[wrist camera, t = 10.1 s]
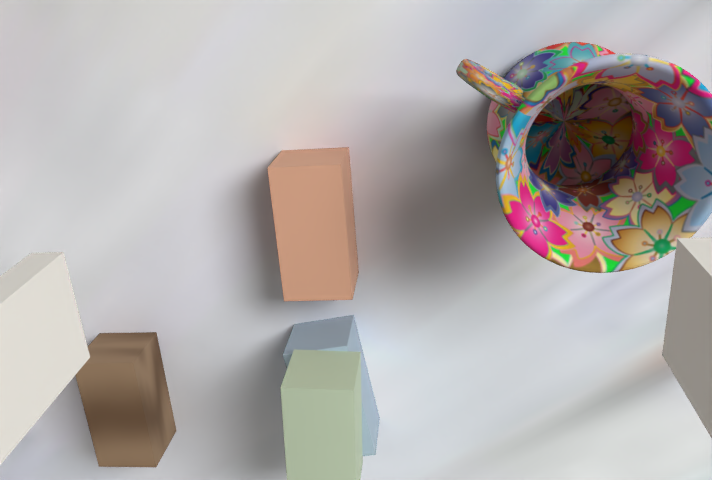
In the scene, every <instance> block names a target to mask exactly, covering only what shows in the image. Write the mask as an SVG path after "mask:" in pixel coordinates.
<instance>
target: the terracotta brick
mask: <svg viewBox="0 0 712 480" xmlns="http://www.w3.org/2000/svg"><path fill="white" fill-rule="evenodd" d="M268 176H269V184H270V192H271V200H272V208H273V216H274V224H275V232H276V240H277V249H278V257H279V265H280V273H281V281H282V289H283V297H284V301H315V300H352V299H353V295H354V290H355V286H356V281H357V277H358V273H359V271H358V258H357V245H356V233H355V220H354V207H353V194H352V182H351V169H350V156H349V147H344V148H324V149H304V150H283V151H281V152H280V153H279V154H278V156H277V157H276V158H275V159H274V160H273V162H272V163H271V164H270V165H269V167H268Z"/></svg>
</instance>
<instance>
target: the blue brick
mask: <svg viewBox="0 0 712 480" xmlns="http://www.w3.org/2000/svg"><path fill="white" fill-rule="evenodd" d="M294 349H295V350H324V351H352V352H361V398H362V451H363V456H369V455H376V446H377V437H378V427H379V418H380V417H379V413H378V409H377V405H376V401H375V397H374V393H373V390H372V386H371V382H370V378H369V374H368V370H367V366H366V362H365V358H364V354H363V350H362V346H361V342H360V338H359V334H358V330H357V326H356V322H355V318H354V315H350V316H344V317H337V318H331V319H325V320H318V321H312V322H306V323H299V324H294V327H293V329H292V332H291V335H290V337H289V340H288V342H287V345H286V348H285V350H284V353H283V358H284V361H285V364H286V368H288V365H289V362H290V359H291V357H292V354H293V351H294Z"/></svg>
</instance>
